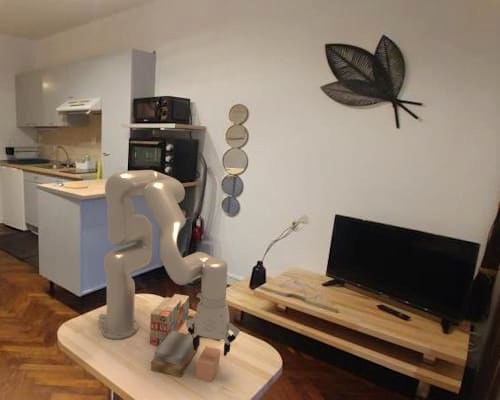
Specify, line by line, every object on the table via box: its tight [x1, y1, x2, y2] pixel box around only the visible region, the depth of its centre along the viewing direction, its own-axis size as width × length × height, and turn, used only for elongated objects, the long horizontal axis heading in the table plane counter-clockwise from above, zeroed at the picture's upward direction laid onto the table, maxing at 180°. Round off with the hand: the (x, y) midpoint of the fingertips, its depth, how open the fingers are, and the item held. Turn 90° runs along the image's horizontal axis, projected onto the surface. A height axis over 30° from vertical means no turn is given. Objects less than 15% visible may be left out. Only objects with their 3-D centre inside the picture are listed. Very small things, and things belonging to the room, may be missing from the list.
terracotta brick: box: [195, 346, 221, 383], centre depth 106 cm, size 5×8×6 cm, turn 168°
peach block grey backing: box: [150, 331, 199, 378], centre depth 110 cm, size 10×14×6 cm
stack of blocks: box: [149, 293, 190, 347], centre depth 126 cm, size 21×6×12 cm, turn 169°
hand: (211, 350), depth 104 cm, fingers open, 9 cm apart
